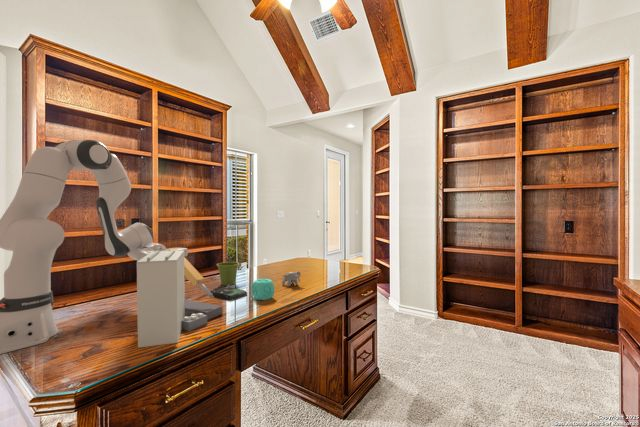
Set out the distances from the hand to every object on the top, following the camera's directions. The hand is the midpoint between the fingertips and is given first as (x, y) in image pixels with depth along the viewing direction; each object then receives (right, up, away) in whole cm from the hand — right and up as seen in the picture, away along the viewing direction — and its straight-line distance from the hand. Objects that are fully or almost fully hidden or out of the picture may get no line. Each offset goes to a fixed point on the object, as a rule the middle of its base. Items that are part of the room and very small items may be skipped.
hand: (177, 256), depth 132 cm
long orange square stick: (+7, -8, -3) cm, 11 cm away
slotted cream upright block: (+7, -22, -26) cm, 35 cm away
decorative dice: (+34, -21, +13) cm, 42 cm away
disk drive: (+17, -22, +17) cm, 33 cm away
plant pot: (+10, -21, +39) cm, 45 cm away
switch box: (+16, -22, -21) cm, 34 cm away
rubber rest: (+11, -22, -8) cm, 25 cm away
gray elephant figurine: (+46, -21, +35) cm, 62 cm away
